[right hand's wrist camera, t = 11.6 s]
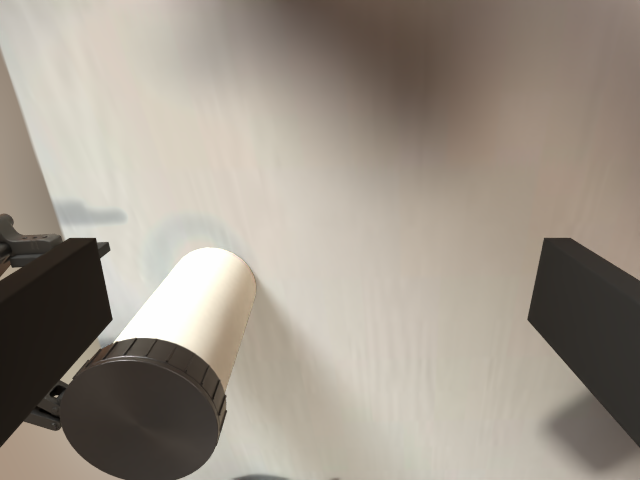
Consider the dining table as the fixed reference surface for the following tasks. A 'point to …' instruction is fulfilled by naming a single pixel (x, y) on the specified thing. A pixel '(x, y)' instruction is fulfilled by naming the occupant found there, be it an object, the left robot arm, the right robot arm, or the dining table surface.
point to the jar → (201, 308)
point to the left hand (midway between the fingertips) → (121, 325)
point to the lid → (144, 410)
